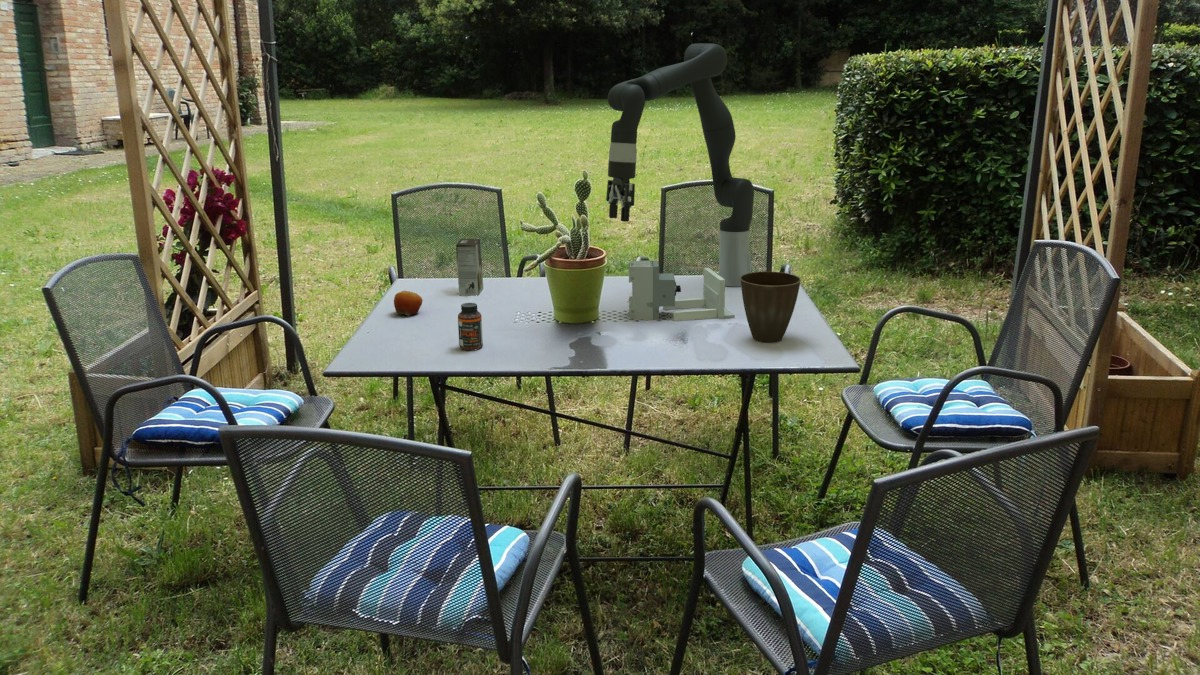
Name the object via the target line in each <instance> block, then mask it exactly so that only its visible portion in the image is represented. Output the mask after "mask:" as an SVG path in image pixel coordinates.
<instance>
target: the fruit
mask: <svg viewBox="0 0 1200 675" xmlns="http://www.w3.org/2000/svg"><path fill="white" fill-rule="evenodd" d="M422 304H423V298H422V296H421V295H419V294H418V293H417V292H413V291H409V290H402V291H400V292H397V293H395V295H394V298H393V307H394V308H395V312H396V315H397V316H401V315H406V316H407V317H409V318H410V315H415V314H418V313H419V310H420V308H421V306H422Z"/></svg>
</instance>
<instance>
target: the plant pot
mask: <svg viewBox="0 0 1200 675" xmlns="http://www.w3.org/2000/svg"><path fill="white" fill-rule="evenodd" d="M740 279H741V286H740V288H741V295H742V296H741V297H742V301H743V308H744V312H745V316H746V320H747V324H748V329H749V330H750V333H751V337H752V339H753V340H754V341H756V342H759V343H766V344H774V343H778V342H781V341H782V340H783V338H784V336H785V334H786V332H787V329H788V327H789V324H790V321H791V319H792V316H793V313H794V310H795V306H796V303H797V299H798V296H799V290H800V286H801V277H799V276H798V275H795V274H792V273H787V272H781V271H768V270H767V271H754V272H752V271H751V273H747V274H744V275H742V276H741V277H740Z"/></svg>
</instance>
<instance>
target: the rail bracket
mask: <svg viewBox="0 0 1200 675" xmlns="http://www.w3.org/2000/svg"><path fill="white" fill-rule="evenodd" d="M702 285H703V288H702V291H703V292H702V294H703V295H702V296H703V297H700V298H699V297H698V298H685V299H682V298H681V299H675V306H662V309H663V310H664V311H667V310H675V311H673V312H672V314H673V315H672V317H673V319H672V320H673V322H679V321H680V322H681V321H693V320H694V321H695V319H696V320H706V319H709V320H710V319H719V320H722V319H723V320H724V319H735V314H734V313H733V312H732V311H730V310H729V309H728V308H727V307H726V306H725V304H726V302H725V298H726V286H725V279H723V278H722V277H721V276H719V273H717V272H715V270H713V269H711V268H710V267H703V284H702ZM697 307H698V308H705V309H698V308H697ZM682 308H684V309H687V310H682ZM696 308H697V309H696ZM688 309H689V310H688ZM676 310H678V311H676Z"/></svg>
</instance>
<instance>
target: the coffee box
mask: <svg viewBox="0 0 1200 675" xmlns="http://www.w3.org/2000/svg"><path fill="white" fill-rule="evenodd" d="M481 245H482V244H481V238H460V239H459V240H458V242H457V243H456V245H455V247H456V248H455V249H456V251H455V252H456V262H457V263H456V264H457V265H456V266H457V280H458V282H457V283H458V284H457V285H458V295H459V297H461V296H462V297H464V296H466V297H467V296H470V297H471V296H475V297H478V295H479V296H480V294H481V293H482V292H483V290H484V279H483V278H484V277H483V276H484V275H483V262H482V261H483V260H482V258H483V257H482V246H481ZM476 295H477V296H476Z"/></svg>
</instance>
